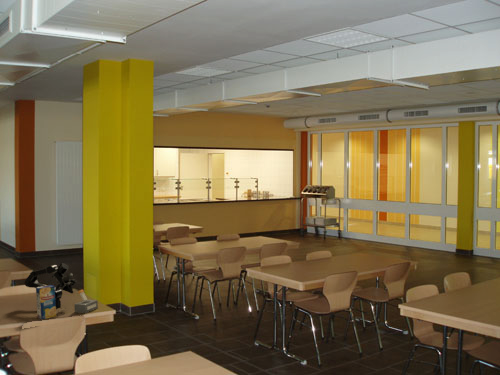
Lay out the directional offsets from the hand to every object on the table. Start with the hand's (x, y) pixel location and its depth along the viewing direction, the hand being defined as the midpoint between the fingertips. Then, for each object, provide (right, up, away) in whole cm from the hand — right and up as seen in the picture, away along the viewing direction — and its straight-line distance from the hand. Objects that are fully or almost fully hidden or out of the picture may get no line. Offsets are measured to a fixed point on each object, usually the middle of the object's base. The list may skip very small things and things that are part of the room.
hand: (72, 293), depth 399 cm
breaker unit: (+12, -12, -4) cm, 17 cm away
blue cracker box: (-12, -14, -19) cm, 26 cm away
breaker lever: (+11, -6, -4) cm, 13 cm away
